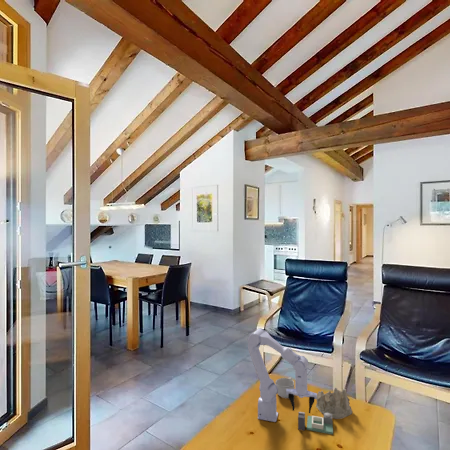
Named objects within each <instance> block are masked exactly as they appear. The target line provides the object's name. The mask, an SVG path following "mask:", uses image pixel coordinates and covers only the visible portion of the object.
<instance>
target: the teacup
mask: <svg viewBox="0 0 450 450" xmlns="http://www.w3.org/2000/svg"><path fill="white" fill-rule="evenodd" d="M274 383H275V384H276V386H277V387H278V393H277V394H276V395H278V396H279V397H281V398H283V399H289V398H288V395H286V389H295V381H294V380H293V378H292V377H290V376H289V377H288V378H287V377H281V378H278V379H276V380H275V382H274Z"/></svg>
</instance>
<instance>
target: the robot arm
mask: <svg viewBox="0 0 450 450" xmlns="http://www.w3.org/2000/svg"><path fill="white" fill-rule="evenodd" d="M265 345H266V346H269V347H270V348H271V349H273V350H274V351H276V352H278V353H279V354H280V356H281V358H282V359H283V360H285V361H286V362H287V363H288V364H290V365H291V366H293V370H294V372H295V373H294V375H295V378H294V380H295V381H294V389H286V395H288V398H287V399H288V400H289V402H290V404H291V407H292V411H295V396H297V397H298V398H302V399H303V398H308V414H311V410H312V408H313V405H314V403H315V400H317V394H318V392H313V391H309V390H308V367H309V360H308V359H307V357H305V356H304V355H300V354H297V353H296V352H295V351H293V349H292V348H290V347H284V346H283V345H282V344H281V343H279V342H278V341H277V340H276V339H274V338H273V337H272V336H271V335H270V333H269V332H268V331H266V330H265V329H263V328H258V329H257V328H256V330H255V331H254V332H252V333H250V334H249V336H248V337H247V351H248V354H249V356H250V358H251V360H252V361H251V362H252V364H253V367H254V369H255V372H256V375H257V377H258V380H259V392H260V393H259V394H260V395H259V396H260V397H258V401H257V419H258V420H260V421H261V420H262V421H267V422H268V421H269V422H272V423H273V422H274V423H276V422H277V421H278V420H277V419H278V416H279V412H278V411H277V395H278V394H277V393H278V387H277V386H276V383H275V382H274V379H272V378H271V377H270V375H269V372H268V370H267V367H266V365H265V362H264V359H263V357H262V354H261V350H260V347H261V346H265Z"/></svg>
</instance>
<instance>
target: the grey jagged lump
mask: <svg viewBox="0 0 450 450" xmlns="http://www.w3.org/2000/svg"><path fill="white" fill-rule="evenodd" d="M315 407H316V409H317V410H319V412H320V413H321V414H322V415H324V413H330V414H332V419H335V420H341V419H344V418H347V417H349V416H350V415H352V414H353V409H352V406H351V405H350V398H349V397H348V393H347V389H346V388H342V391H341V390H339V389H338V388H337V387H334V390H333V392H331V391H330V390H329V391H328V392H326V393H324V390H319V391H318V392H317V399H316V404H315Z"/></svg>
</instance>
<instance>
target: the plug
mask: <svg viewBox="0 0 450 450" xmlns="http://www.w3.org/2000/svg"><path fill="white" fill-rule="evenodd" d="M297 429H298V430H300V431H303V432H304V431H305V429H306V412H304V411H298V415H297Z"/></svg>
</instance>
